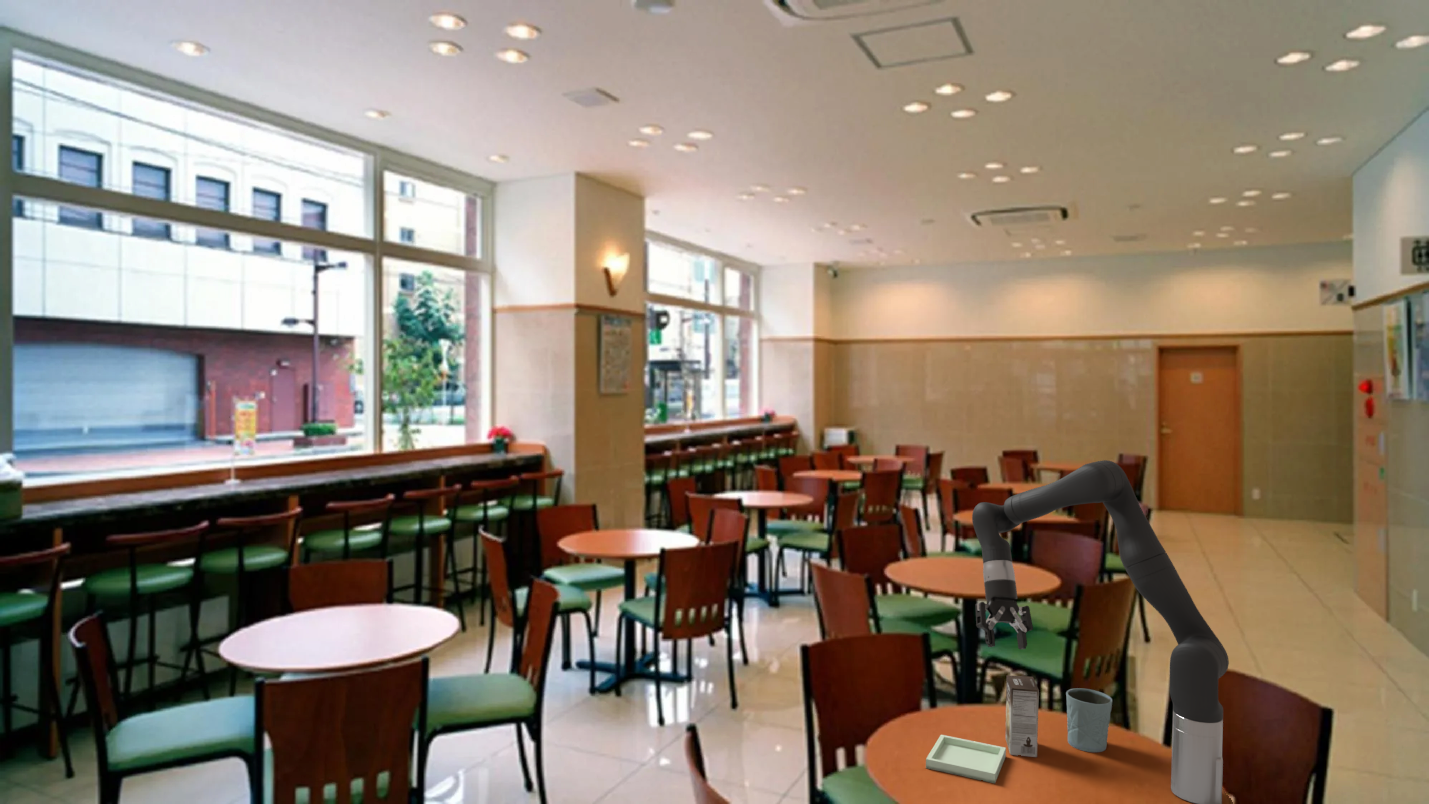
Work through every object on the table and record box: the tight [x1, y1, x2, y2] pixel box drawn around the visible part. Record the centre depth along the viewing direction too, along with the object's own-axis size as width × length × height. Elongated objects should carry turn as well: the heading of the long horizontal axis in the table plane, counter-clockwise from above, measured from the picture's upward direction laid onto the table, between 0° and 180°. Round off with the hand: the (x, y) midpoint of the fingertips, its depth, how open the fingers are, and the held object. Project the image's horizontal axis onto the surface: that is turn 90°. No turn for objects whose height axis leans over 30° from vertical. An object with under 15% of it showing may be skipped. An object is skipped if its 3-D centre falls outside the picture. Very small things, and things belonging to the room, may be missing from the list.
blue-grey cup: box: [1065, 687, 1113, 753], centre depth 203 cm, size 10×10×12 cm
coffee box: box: [1005, 674, 1040, 758], centre depth 201 cm, size 9×6×16 cm
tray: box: [925, 734, 1007, 784], centre depth 193 cm, size 15×15×2 cm
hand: (1007, 647), depth 205 cm, fingers open, 8 cm apart
